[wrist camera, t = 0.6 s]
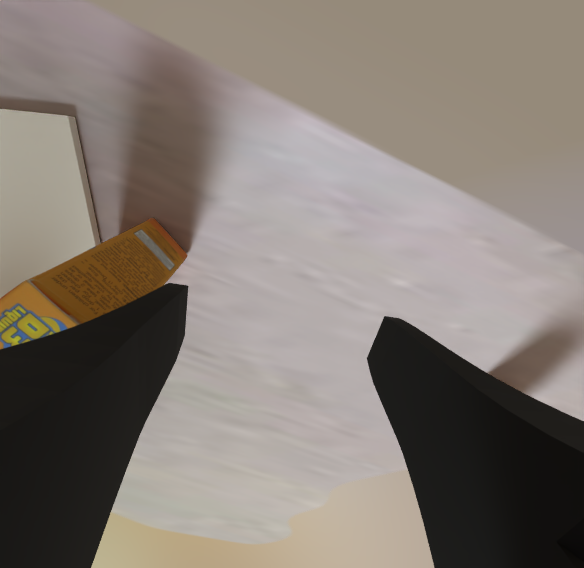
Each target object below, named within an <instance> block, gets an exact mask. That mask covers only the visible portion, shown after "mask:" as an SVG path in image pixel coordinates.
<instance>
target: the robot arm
mask: <svg viewBox="0 0 584 568" xmlns="http://www.w3.org/2000/svg"><path fill="white" fill-rule="evenodd" d="M187 296H188V286H186V285H179V284H173V283H168V284H166V285H163V286H161V287H159V288H157V289H156V290H154V291H152V292H150V293H148V294H146V295H144V296H142V297H140V298H138V299H136V300H134V301H132V302H130V303H128V304H126V305H124V306H121V307H119V308H117V309H115V310H112V311H110V312H108V313H106V314H103V315H101V316H99V317H97V318H94V319H92V320H89V321H87V322H84V323H82V324H79V325H77V326H74V327H71V328H68V329H65V330H62V331H60V332H57V333H54V334H51V335H48V336H45V337H42V338H38V339H35V340H31V341H28V342H24V343H21V344H17V345H14V346H10V347H7V348H3V349H0V568H91V566H92V563H93V561H94V558H95V555H96V552H97V549H98V546H99V544H100V541H101V538H102V535H103V532H104V529H105V527H106V524H107V521H108V518H109V515H110V512H111V510H112V507H113V504H114V502H115V499H116V496H117V493H118V491H119V488H120V485H121V483H122V480H123V477H124V474H125V472H126V469H127V467H128V464H129V461H130V459H131V456H132V454H133V451H134V448H135V446H136V443H137V441H138V438H139V435H140V433H141V431H142V429H143V426H144V424H145V422H146V420H147V418H148V416H149V414H150V412H151V410H152V408H153V406H154V404H155V402H156V400H157V398H158V396H159V394H160V392H161V390H162V388H163V386H164V384H165V382H166V380H167V378H168V376H169V374H170V372H171V370H172V368H173V366H174V364H175V362H176V359H177V356H178V354H179V351H180V348H181V345H182V342H183V339H184V336H185V324H186V310H187ZM367 361H368V365H369V369H370V373H371V376H372V380H373V383H374V386H375V388H376V390H377V393H378V395H379V398H380V400H381V402H382V405H383V407H384V409H385V412H386V414H387V416H388V419H389V421H390V423H391V426H392V428H393V430H394V433H395V435H396V437H397V440H398V442H399V445H400V447H401V450H402V453H403V456H404V459H405V462H406V465H407V468H408V471H409V474H410V477H411V481H412V484H413V487H414V490H415V494H416V498H417V501H418V505H419V508H420V512H421V515H422V519H423V522H424V526H425V531H426V535H427V539H428V543H429V547H430V551H431V555H432V559H433V562H434V567H435V568H584V421H581V420H579V419H577V418H575V417H572V416H570V415H568V414H566V413H563V412H561V411H559V410H557V409H555V408H553V407H551V406H549V405H547V404H544V403H542V402H540V401H538V400H536V399H534V398H532V397H530V396H528V395H526V394H524V393H522V392H520V391H518V390H516V389H515V388H513V387H511V386H509V385H507V384H505V383H504V382H502V381H500V380H498V379H496V378H494V377H493V376H491V375H489V374H488V373H486V372H484V371H482V370H481V369H479V368H478V367H476V366H474V365H473V364H471V363H469V362H468V361H466V360H465V359H463V358H461V357H460V356H458V355H457V354H455V353H454V352H452V351H451V350H449V349H448V348H446V347H445V346H443V345H442V344H440V343H439V342H437V341H436V340H434V339H433V338H431V337H430V336H428V335H427V334H425V333H423V332H422V331H420V330H419V329H417V328H416V327H414V326H412V325H411V324H409V323H407V322H405V321H404V320H402V319H399V318H393V317H387V316H384V319H383V321H382V324H381V326H380V328H379V331H378V333H377V336H376V338H375V340H374V343H373V345H372V347H371V350H370V352H369V355H368V357H367Z"/></svg>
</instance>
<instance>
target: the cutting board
mask: <svg viewBox="0 0 584 568" xmlns="http://www.w3.org/2000/svg"><path fill="white" fill-rule="evenodd" d="M99 244H101V242H100V238H99V233H98V228H97V223H96V218H95V213H94V208H93V203H92V198H91V193H90V189H89V184H88V179H87V174H86V169H85V164H84V159H83V154H82V149H81V145H80V140H79V135H78V130H77V125H76V120H75V117H72V116H66V115H56V114H46V113H37V112H27V111H17V110H8V109H0V298H1V297H3V296H4V295H5V294H7V293H8V292H9V291H11V290H12V289H14V288H15V287H16V286H18V285H19V284H20V283H22V282H24V281H25V280H28V279H30V278H32V277H35V276H37V275H39V274H41V273H43V272H45V271H48V270H50V269H52V268H54V267H56V266H58V265H60V264H62V263H64V262H66V261H68V260H70V259H72V258H73V257H75V256H78V255H79V254H81V253H83V252H85V251H87V250H89V249H91V248H93V247H95V246H97V245H99Z"/></svg>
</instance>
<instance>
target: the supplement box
mask: <svg viewBox="0 0 584 568" xmlns="http://www.w3.org/2000/svg"><path fill="white" fill-rule="evenodd" d="M186 258H187V254H186V253H185V252H184V250H183V249H182V248H181V247H180V246H179V245H178V244H177V243H176V241H175V240H174V239H173V238H172V237H171V236H170V235H169V234H168V233H167V231H166V230H165V229H164V228H163V227H162V226H161V225H160V224H159V223H158V222H157V220H156V219H154V218H150V219H148V220H147V221H145V222H143V223H141V224H139V225H137V226H135V227H133V228H131V229H129V230H127V231H125V232H123V233H121V234H119V235H117V236H115V237H113V238H111V239H109V240H107V241H105V242H103V243H101V244H99V245H97V246H95V247H93V248H91V249H89V250H87V251H85V252H83V253H81V254H79V255H78V256H75V257H73V258H72V259H70V260H68V261H66V262H64V263H62V264H60V265H58V266H56V267H54V268H52V269H50V270H48V271H45V272H43V273H41V274H39V275H37V276H35V277H32V278H30V279H28V280H25V281H24V282H22V283H20V284H19V285H18V286H16V287H15V288H14V289H12V290H11V291H9V292H8V293H7V294H5V295H4V296H3V297H1V298H0V349H3V348H7V347H10V346H14V345H17V344H21V343H24V342H28V341H31V340H35V339H38V338H42V337H45V336H48V335H51V334H54V333H57V332H60V331H62V330H65V329H68V328H71V327H74V326H77V325H79V324H82V323H84V322H87V321H89V320H92V319H94V318H97V317H99V316H101V315H103V314H106V313H108V312H110V311H112V310H115V309H117V308H119V307H121V306H124V305H126V304H128V303H130V302H132V301H134V300H136V299H138V298H140V297H142V296H144V295H146V294H148V293H150V292H152V291H154V290H156V289H157V288H159V287H161V286H163V285H164V284H165V283H166V282H167V281H168V280H169V278H170V277H171V276H172V275H173V274H174V272H175V271H176V270H177V269H178V268H179V266H180V265H181V264H182V263H183V262H184V260H185V259H186Z"/></svg>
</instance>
